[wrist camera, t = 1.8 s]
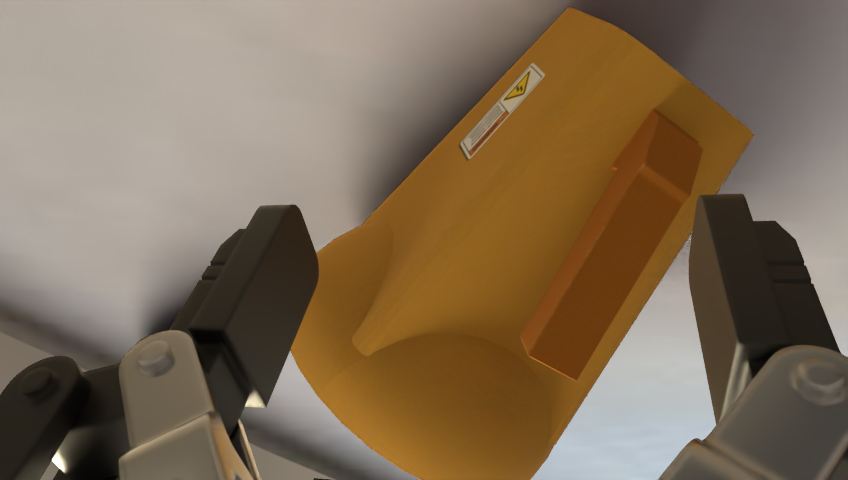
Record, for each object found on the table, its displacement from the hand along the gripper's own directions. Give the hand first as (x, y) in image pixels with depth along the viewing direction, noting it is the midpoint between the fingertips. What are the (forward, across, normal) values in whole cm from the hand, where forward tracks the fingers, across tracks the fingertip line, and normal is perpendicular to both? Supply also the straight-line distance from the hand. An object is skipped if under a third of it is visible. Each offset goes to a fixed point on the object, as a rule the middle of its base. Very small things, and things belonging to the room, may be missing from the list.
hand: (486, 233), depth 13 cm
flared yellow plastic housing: (+22, +2, +14) cm, 26 cm away
